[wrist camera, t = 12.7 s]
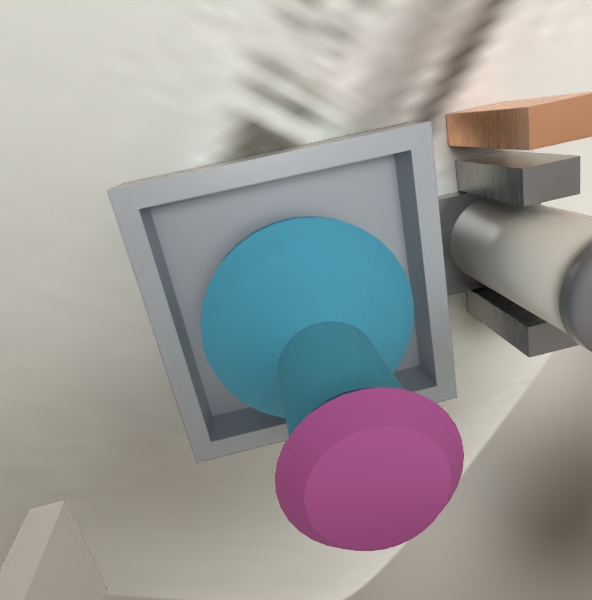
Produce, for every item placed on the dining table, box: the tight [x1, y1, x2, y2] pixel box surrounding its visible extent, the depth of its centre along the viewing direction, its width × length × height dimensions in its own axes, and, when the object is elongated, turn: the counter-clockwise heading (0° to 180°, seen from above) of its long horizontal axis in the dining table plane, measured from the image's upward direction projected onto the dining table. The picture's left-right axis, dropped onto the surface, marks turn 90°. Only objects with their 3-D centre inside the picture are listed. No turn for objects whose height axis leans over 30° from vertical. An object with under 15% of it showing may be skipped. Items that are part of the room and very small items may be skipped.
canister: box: [450, 197, 592, 352], centre depth 21 cm, size 5×5×10 cm
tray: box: [108, 121, 457, 463], centre depth 24 cm, size 14×14×3 cm
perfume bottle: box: [200, 216, 464, 551], centre depth 18 cm, size 9×9×15 cm
